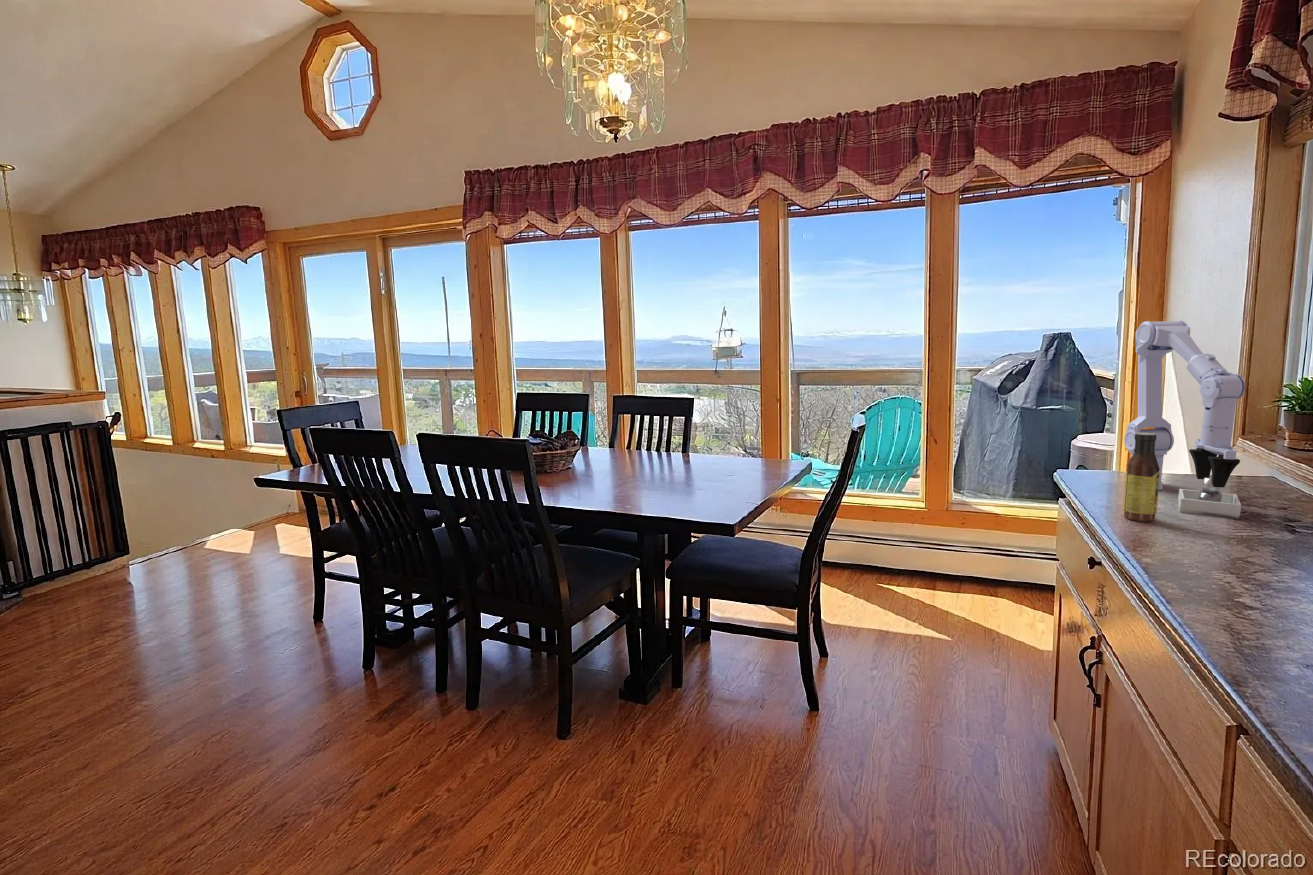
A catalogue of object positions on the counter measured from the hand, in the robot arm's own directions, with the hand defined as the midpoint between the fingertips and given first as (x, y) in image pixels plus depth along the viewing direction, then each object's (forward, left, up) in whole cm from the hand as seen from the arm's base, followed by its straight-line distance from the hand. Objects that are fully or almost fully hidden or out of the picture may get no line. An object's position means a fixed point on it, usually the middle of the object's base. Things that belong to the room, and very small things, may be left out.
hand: (1210, 482), depth 166 cm
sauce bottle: (+17, -13, -7) cm, 22 cm away
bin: (0, 0, -7) cm, 7 cm away
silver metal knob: (0, 0, -6) cm, 6 cm away
